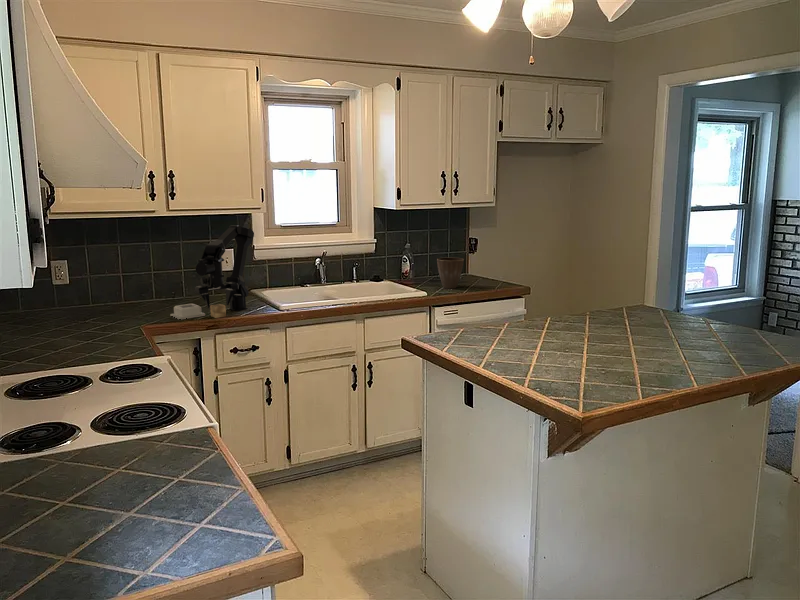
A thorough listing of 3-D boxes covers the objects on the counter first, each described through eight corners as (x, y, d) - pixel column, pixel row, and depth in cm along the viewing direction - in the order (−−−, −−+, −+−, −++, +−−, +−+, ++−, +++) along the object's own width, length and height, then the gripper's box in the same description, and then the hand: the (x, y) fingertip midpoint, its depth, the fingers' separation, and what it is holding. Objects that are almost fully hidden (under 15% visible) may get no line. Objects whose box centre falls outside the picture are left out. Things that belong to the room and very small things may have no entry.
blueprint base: (196, 312, 297) (195, 302, 296) (205, 315, 290) (204, 305, 289) (170, 316, 289) (169, 306, 288) (179, 319, 282) (178, 309, 281)
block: (221, 314, 292) (220, 303, 291) (226, 316, 288) (225, 305, 287) (210, 316, 289) (210, 305, 288) (215, 318, 285) (215, 307, 284)
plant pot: (450, 284, 366) (451, 256, 363) (469, 287, 355) (469, 258, 352) (431, 287, 357) (431, 258, 354) (449, 290, 346) (449, 261, 343)
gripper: (226, 268, 297) (229, 301, 300) (188, 272, 285) (190, 307, 288) (238, 270, 288) (240, 304, 291) (198, 275, 276) (201, 310, 279)
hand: (218, 306), depth 288 cm, fingers open, 9 cm apart
